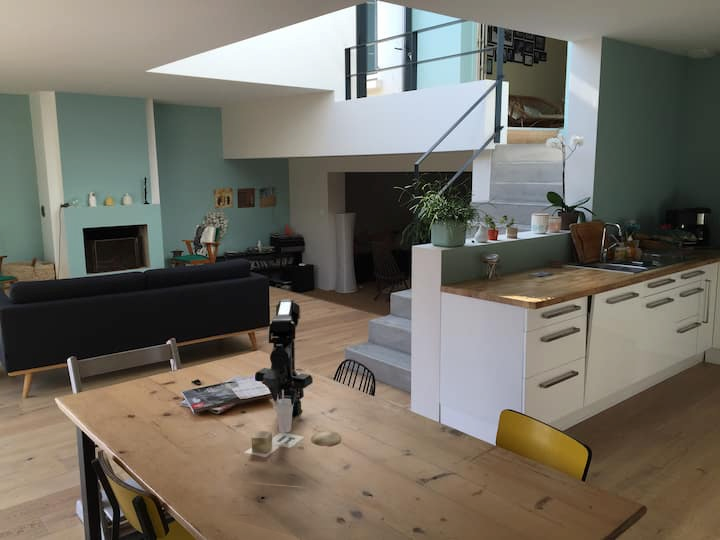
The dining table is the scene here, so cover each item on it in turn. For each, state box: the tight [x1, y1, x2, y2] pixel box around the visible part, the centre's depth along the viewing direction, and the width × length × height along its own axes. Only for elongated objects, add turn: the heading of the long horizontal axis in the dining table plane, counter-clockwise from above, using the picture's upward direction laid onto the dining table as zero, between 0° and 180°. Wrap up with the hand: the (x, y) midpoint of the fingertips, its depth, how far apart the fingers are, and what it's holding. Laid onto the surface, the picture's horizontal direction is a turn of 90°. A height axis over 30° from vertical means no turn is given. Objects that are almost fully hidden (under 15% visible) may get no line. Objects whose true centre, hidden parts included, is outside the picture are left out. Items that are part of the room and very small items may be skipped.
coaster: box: [310, 431, 342, 447], centre depth 198 cm, size 10×10×1 cm
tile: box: [244, 444, 280, 458], centre depth 190 cm, size 8×8×1 cm
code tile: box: [272, 431, 305, 449], centre depth 197 cm, size 9×9×1 cm
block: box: [251, 430, 273, 454], centre depth 190 cm, size 5×5×5 cm
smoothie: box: [274, 390, 294, 433], centre depth 195 cm, size 6×6×14 cm
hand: (284, 403), depth 195 cm, fingers closed on smoothie, 6 cm apart
